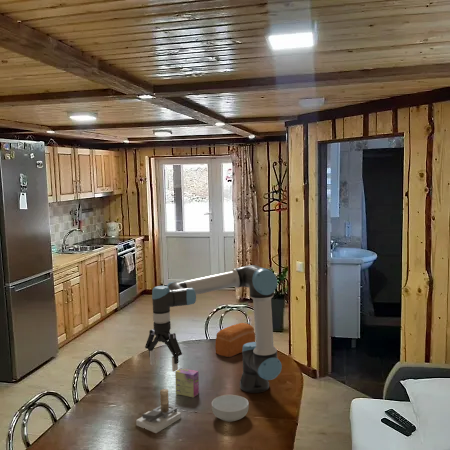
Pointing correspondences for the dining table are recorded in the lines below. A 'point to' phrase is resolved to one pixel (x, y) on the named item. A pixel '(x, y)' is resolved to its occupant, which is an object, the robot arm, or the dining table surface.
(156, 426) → the box
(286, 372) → the dining table surface
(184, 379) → the box
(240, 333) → the bread
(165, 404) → the dowel
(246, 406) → the cereal bowl
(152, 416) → the rocker
